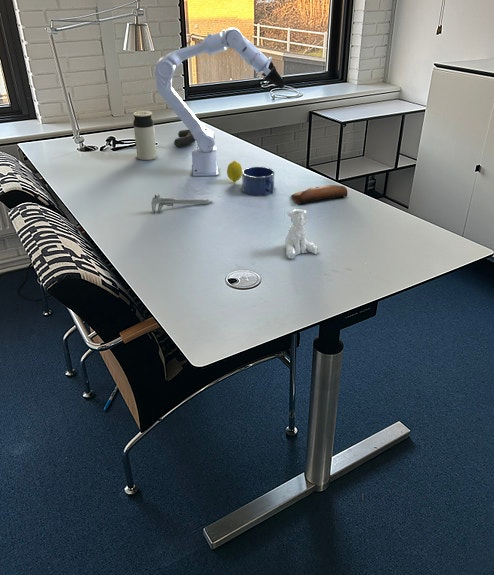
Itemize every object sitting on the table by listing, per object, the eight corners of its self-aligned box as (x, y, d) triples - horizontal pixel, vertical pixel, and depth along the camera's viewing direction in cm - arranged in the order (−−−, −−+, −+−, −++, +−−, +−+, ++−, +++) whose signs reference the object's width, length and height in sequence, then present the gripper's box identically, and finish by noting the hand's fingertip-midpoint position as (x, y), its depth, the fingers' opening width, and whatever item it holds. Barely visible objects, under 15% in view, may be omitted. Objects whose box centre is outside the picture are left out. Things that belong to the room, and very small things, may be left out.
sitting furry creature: (288, 260, 142) (290, 219, 136) (274, 246, 149) (275, 207, 142) (319, 253, 145) (322, 213, 139) (304, 240, 152) (306, 202, 146)
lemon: (244, 180, 194) (244, 159, 190) (238, 185, 190) (238, 164, 185) (231, 178, 196) (231, 157, 192) (224, 183, 192) (224, 162, 187)
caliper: (153, 214, 168) (151, 195, 165) (152, 213, 169) (150, 194, 166) (212, 203, 176) (211, 185, 172) (210, 202, 177) (210, 184, 173)
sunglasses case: (335, 188, 186) (341, 175, 180) (343, 204, 183) (349, 191, 177) (289, 195, 180) (294, 182, 174) (296, 211, 177) (301, 199, 172)
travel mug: (148, 161, 213) (143, 116, 203) (133, 158, 216) (128, 113, 207) (160, 156, 218) (156, 112, 209) (146, 153, 222) (141, 109, 212)
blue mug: (236, 187, 188) (236, 170, 184) (262, 181, 193) (262, 164, 190) (259, 200, 178) (259, 182, 174) (285, 193, 183) (286, 176, 179)
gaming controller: (179, 153, 229) (198, 142, 226) (171, 142, 227) (190, 130, 224) (184, 142, 243) (202, 131, 241) (177, 132, 241) (195, 120, 238)
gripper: (263, 50, 173) (292, 78, 178) (259, 44, 186) (287, 71, 191) (248, 67, 176) (278, 95, 181) (246, 60, 188) (274, 86, 193)
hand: (282, 84), depth 186 cm, fingers open, 7 cm apart
